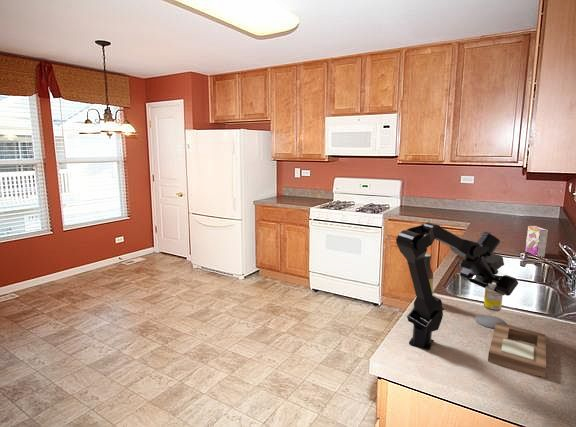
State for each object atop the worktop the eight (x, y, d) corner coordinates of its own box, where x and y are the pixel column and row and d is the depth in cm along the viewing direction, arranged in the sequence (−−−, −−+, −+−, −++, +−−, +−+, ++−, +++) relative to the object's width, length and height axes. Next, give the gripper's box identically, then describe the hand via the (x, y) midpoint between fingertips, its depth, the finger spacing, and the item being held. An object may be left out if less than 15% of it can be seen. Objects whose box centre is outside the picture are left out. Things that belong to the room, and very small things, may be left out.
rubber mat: (505, 331, 125) (505, 330, 125) (473, 323, 130) (473, 322, 130) (507, 320, 133) (507, 319, 133) (477, 313, 138) (477, 312, 138)
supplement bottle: (488, 305, 134) (491, 278, 133) (504, 310, 130) (506, 283, 128) (480, 308, 131) (482, 281, 130) (495, 314, 127) (498, 286, 125)
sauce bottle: (434, 300, 150) (438, 254, 146) (428, 305, 145) (432, 258, 141) (419, 296, 154) (422, 251, 150) (412, 300, 150) (415, 255, 146)
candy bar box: (524, 252, 219) (527, 225, 216) (532, 252, 219) (535, 225, 215) (536, 257, 208) (540, 230, 205) (545, 257, 208) (549, 230, 204)
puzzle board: (544, 378, 100) (546, 366, 99) (487, 361, 108) (488, 350, 107) (544, 343, 118) (545, 332, 117) (495, 330, 126) (496, 321, 125)
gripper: (518, 255, 116) (534, 282, 123) (468, 241, 133) (485, 266, 140) (499, 282, 114) (517, 308, 121) (451, 264, 131) (468, 288, 138)
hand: (496, 291), depth 130 cm, fingers closed on supplement bottle, 6 cm apart
